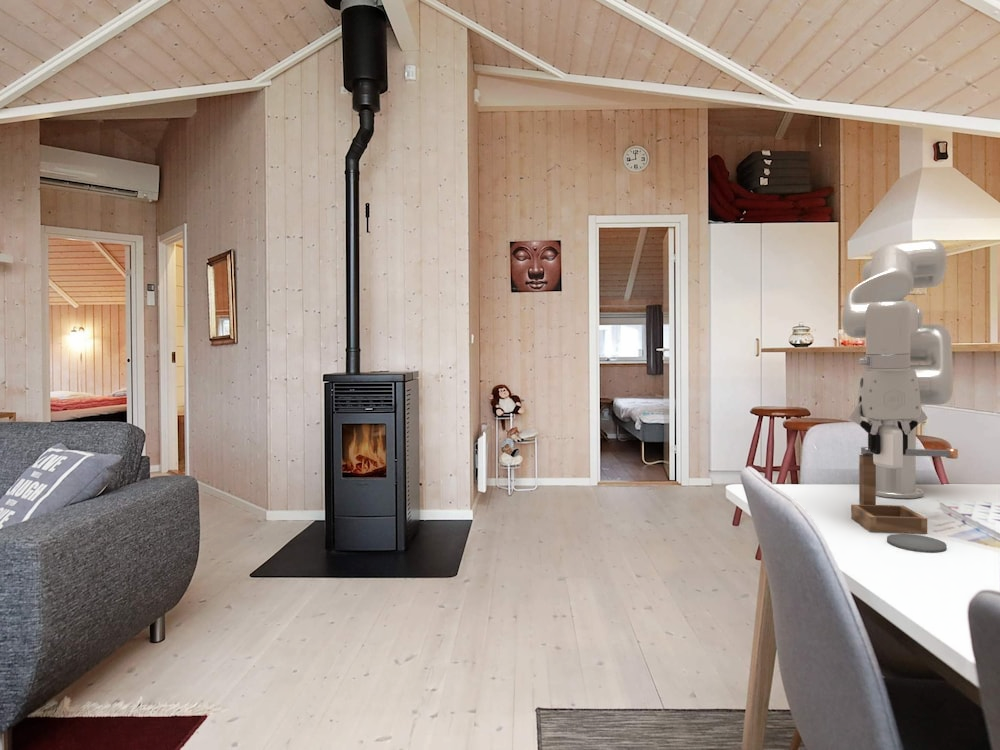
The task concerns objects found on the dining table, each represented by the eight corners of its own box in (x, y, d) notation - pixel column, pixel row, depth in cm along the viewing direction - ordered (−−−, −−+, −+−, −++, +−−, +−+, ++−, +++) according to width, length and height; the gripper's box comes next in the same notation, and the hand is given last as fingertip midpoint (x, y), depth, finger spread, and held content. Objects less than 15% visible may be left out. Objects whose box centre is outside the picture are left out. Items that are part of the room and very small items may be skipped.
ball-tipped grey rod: (862, 455, 132) (862, 447, 132) (859, 454, 134) (859, 446, 134) (959, 458, 126) (959, 450, 126) (955, 456, 128) (955, 448, 128)
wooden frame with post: (840, 510, 135) (840, 454, 135) (890, 512, 133) (890, 454, 133) (870, 532, 119) (870, 468, 119) (927, 534, 117) (927, 469, 117)
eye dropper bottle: (879, 468, 121) (879, 409, 121) (871, 463, 127) (871, 405, 126) (904, 469, 120) (904, 409, 119) (895, 463, 125) (896, 405, 125)
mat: (878, 536, 117) (878, 533, 117) (931, 537, 115) (931, 534, 115) (900, 551, 108) (900, 548, 108) (957, 553, 106) (957, 550, 106)
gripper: (849, 365, 120) (849, 456, 121) (944, 362, 117) (943, 456, 118) (835, 363, 127) (836, 449, 128) (924, 361, 124) (924, 449, 125)
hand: (887, 452), depth 123 cm, fingers closed on eye dropper bottle, 4 cm apart
